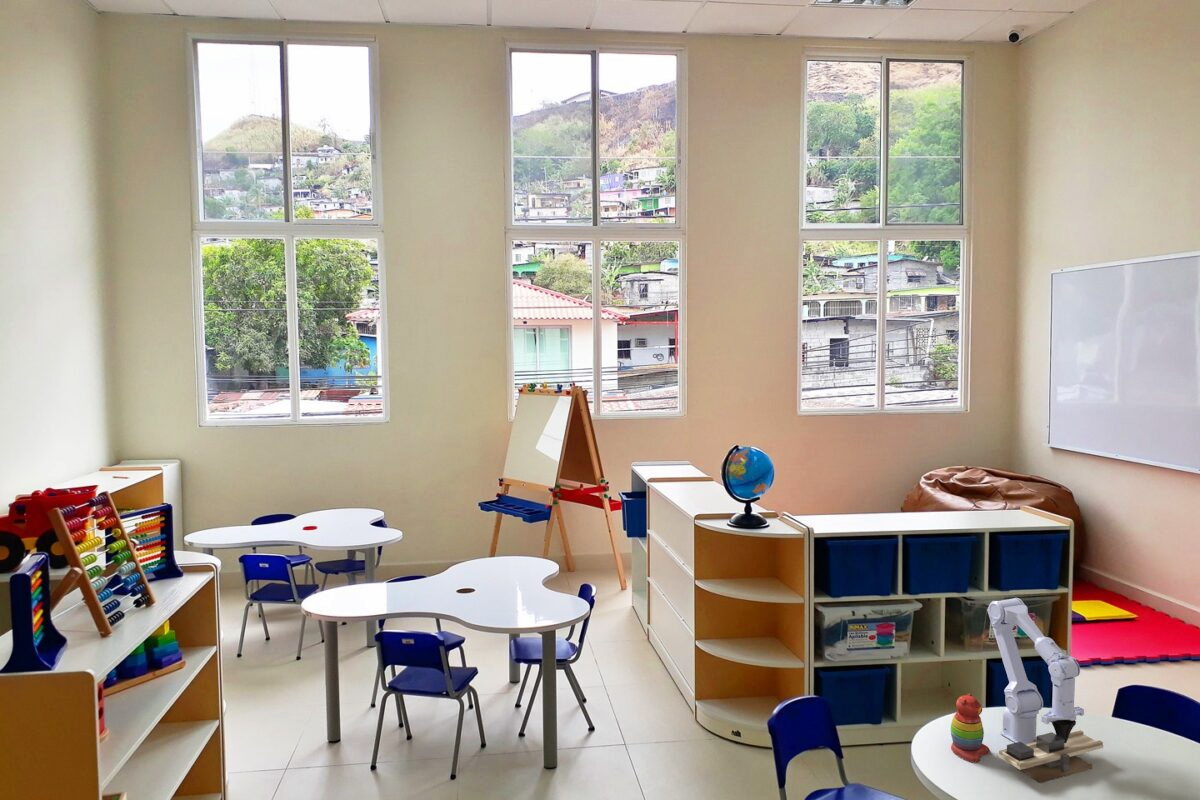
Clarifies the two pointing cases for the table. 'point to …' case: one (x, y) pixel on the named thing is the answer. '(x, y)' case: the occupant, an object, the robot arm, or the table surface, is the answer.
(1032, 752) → the block
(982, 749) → the stacking bear
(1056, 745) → the block
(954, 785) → the table surface
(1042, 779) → the beam stand
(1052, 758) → the balance beam
